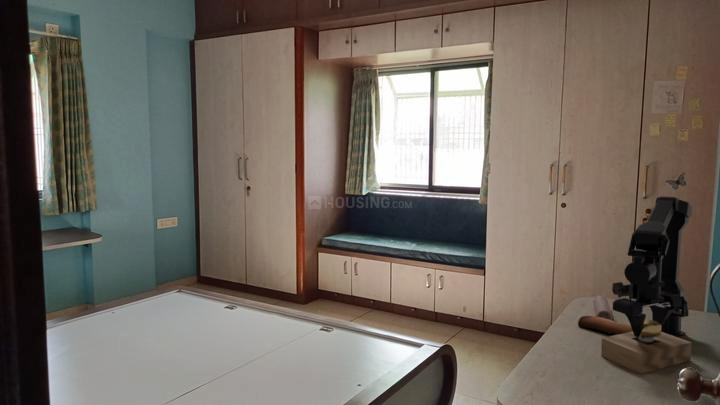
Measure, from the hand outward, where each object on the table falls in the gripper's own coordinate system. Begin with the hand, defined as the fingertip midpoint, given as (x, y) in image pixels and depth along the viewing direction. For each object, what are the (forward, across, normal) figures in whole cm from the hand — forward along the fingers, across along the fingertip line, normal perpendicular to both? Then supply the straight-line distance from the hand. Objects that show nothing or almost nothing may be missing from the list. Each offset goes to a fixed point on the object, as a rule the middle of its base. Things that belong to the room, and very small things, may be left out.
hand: (646, 334), depth 133 cm
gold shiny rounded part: (+4, 0, 0) cm, 4 cm away
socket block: (+6, 0, 0) cm, 7 cm away
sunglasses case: (+7, -8, -18) cm, 21 cm away
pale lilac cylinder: (+7, -18, -30) cm, 36 cm away
